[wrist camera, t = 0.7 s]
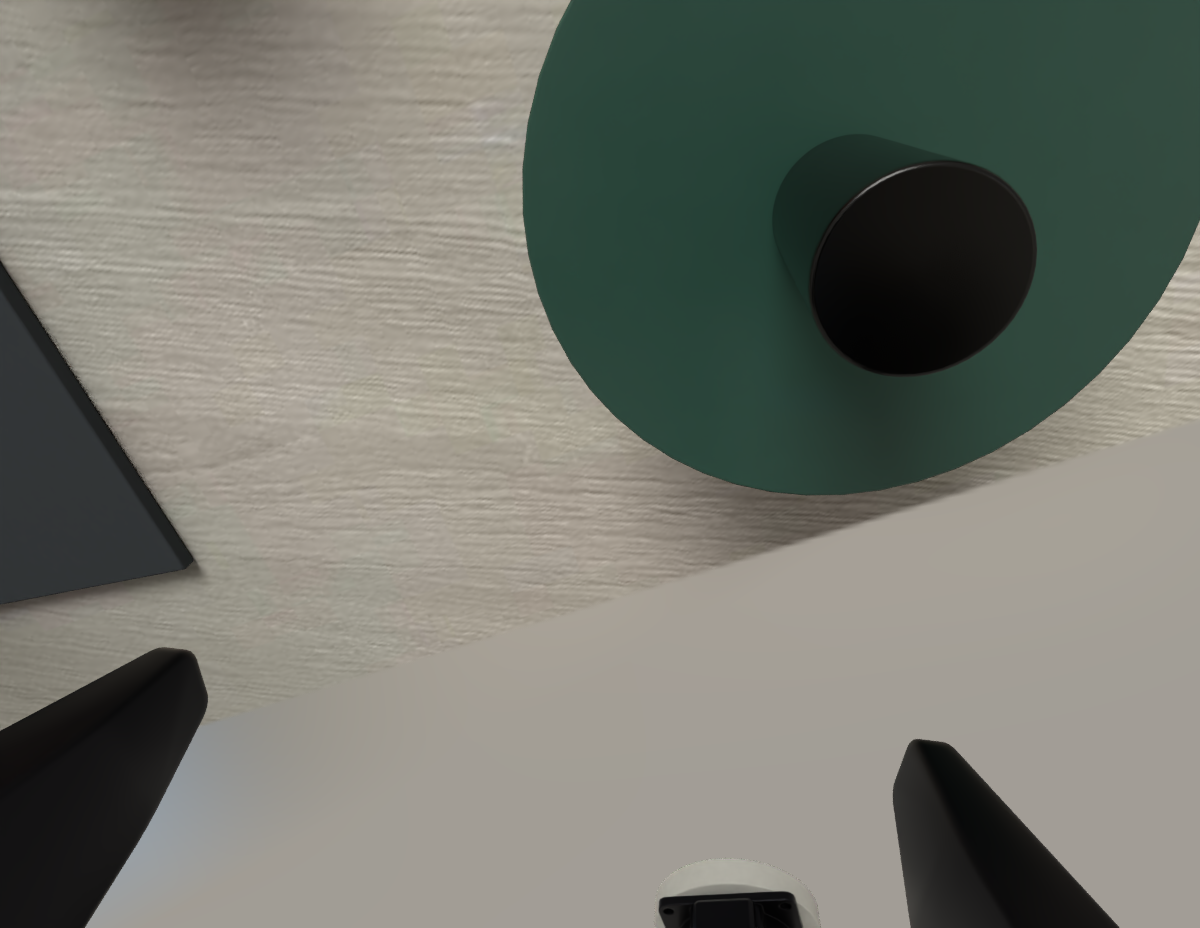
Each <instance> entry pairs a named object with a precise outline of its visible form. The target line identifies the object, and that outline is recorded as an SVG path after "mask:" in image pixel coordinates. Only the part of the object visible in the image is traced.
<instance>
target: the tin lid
mask: <svg viewBox="0 0 1200 928" xmlns="http://www.w3.org/2000/svg"><path fill="white" fill-rule="evenodd" d="M523 218H524V226H525V234H526V241H527V249H528V256H529V260H530V264H531V267H532V271H533V275H534V279H535V283H536V287H537V291H538V294H539V297H540V299H541V302H542V304H543V307H544V309H545V312H546V314H547V317H548V320H549V322H550V325H551V327H552V330H553V331H554V333H555V335H556V337H557V339H558V341H559V342H560V344H561V346H562V348H563V350H564V351H565V353H566V355H567V357H568V359H569V361H570V362H571V364H572V365H573V366H574V368H575V369H576V371H577V372H578V373H579V375H580V376H581V377H582V379H583V380H584V382H585V383H586V384H587V386H588V387H589V389H590V390H591V391H592V392H593V393H594V394H595V396H596V397H597V398H598V399H599V400H600V401H601V402H602V403H603V404H604V405H605V406H606V407H607V408H608V409H609V410H610V412H611V413H612V414H613V415H614V416H615V417H616V418H617V419H619V420H620V421H621V422H622V423H623V424H625V425H626V426H627V427H628V428H629V429H631V430H632V431H633V432H634V433H636V434H637V435H638V436H639V437H640V438H642V439H643V440H644V441H646V442H647V443H649V444H651V445H652V446H654V447H655V448H657V449H658V450H660V451H661V452H663V453H665V454H666V455H668V456H669V457H671V458H673V459H675V460H677V461H679V462H681V463H683V464H685V465H687V466H689V467H691V468H693V469H696V470H698V471H700V472H702V473H704V474H707V475H710V476H713V477H716V478H719V479H722V480H725V481H728V482H731V483H734V484H737V485H741V486H746V487H751V488H755V489H760V490H765V491H769V492H778V493H788V494H798V495H846V494H854V493H862V492H871V491H879V490H884V489H888V488H893V487H897V486H901V485H906V484H910V483H915V482H919V481H922V480H924V479H927V478H930V477H933V476H936V475H939V474H942V473H945V472H948V471H951V470H954V469H956V468H959V467H961V466H963V465H965V464H967V463H970V462H972V461H974V460H976V459H978V458H981V457H983V456H985V455H987V454H989V453H992V452H994V451H995V450H997V449H999V448H1000V447H1002V446H1004V445H1005V444H1007V443H1009V442H1011V441H1012V440H1014V439H1016V438H1017V437H1019V436H1021V435H1023V434H1024V433H1026V432H1028V431H1029V430H1031V429H1032V428H1034V427H1035V426H1036V425H1038V424H1039V423H1040V422H1042V421H1043V420H1045V419H1046V418H1047V417H1049V416H1050V415H1051V414H1053V413H1054V412H1056V411H1057V410H1058V409H1060V408H1061V407H1062V406H1064V405H1065V404H1066V403H1067V402H1068V401H1070V400H1071V399H1072V398H1073V397H1074V396H1075V395H1076V394H1077V393H1078V392H1080V391H1081V390H1082V389H1083V388H1084V387H1085V386H1086V385H1087V384H1089V383H1090V382H1091V381H1092V380H1093V379H1094V378H1095V377H1096V376H1097V375H1099V374H1100V372H1101V371H1102V370H1103V369H1104V368H1105V367H1106V366H1107V365H1108V364H1109V363H1110V361H1111V360H1112V359H1113V358H1114V357H1115V356H1116V355H1117V354H1118V353H1119V352H1120V350H1121V349H1122V348H1123V347H1124V346H1125V345H1126V344H1127V343H1128V342H1129V341H1130V339H1131V338H1132V337H1133V335H1134V334H1135V333H1136V331H1137V330H1138V328H1139V327H1140V326H1141V324H1142V323H1143V322H1144V320H1145V319H1146V317H1147V316H1148V315H1149V313H1150V312H1151V311H1152V309H1153V308H1154V307H1155V305H1156V304H1157V302H1158V301H1159V299H1160V298H1161V296H1162V294H1163V293H1164V291H1165V289H1166V287H1167V286H1168V284H1169V282H1170V280H1171V279H1172V277H1173V275H1174V273H1175V272H1176V270H1177V268H1178V267H1179V265H1180V263H1181V261H1182V260H1183V258H1184V255H1185V253H1186V251H1187V249H1188V246H1189V244H1190V242H1191V239H1192V237H1193V235H1194V232H1195V230H1196V228H1197V226H1198V223H1199V221H1200V0H571V1H570V3H569V5H568V7H567V9H566V11H565V13H564V15H563V17H562V19H561V21H560V23H559V25H558V26H557V28H556V31H555V34H554V36H553V39H552V42H551V45H550V47H549V50H548V53H547V56H546V58H545V61H544V64H543V66H542V69H541V72H540V75H539V78H538V82H537V86H536V91H535V95H534V99H533V103H532V107H531V112H530V116H529V120H528V125H527V134H526V143H525V152H524V160H523Z"/></svg>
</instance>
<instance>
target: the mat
mask: <svg viewBox="0 0 1200 928" xmlns="http://www.w3.org/2000/svg"><path fill="white" fill-rule="evenodd" d="M192 562H193V558H192V557H191V555H190V554H189V552H188V551H187V549H186V548H185V546H184V545H183V543H182V542H181V540H180V539H179V537H178V535H177V534H176V532H175V531H174V529H173V528H172V526H171V525H170V523H169V522H168V520H167V519H166V517H165V515H164V514H163V512H162V511H161V509H160V508H159V506H158V505H157V503H156V502H155V500H154V499H153V497H152V495H151V494H150V492H149V491H148V489H147V488H146V486H145V485H144V483H143V482H142V480H141V479H140V477H139V476H138V474H137V472H136V471H135V469H134V468H133V466H132V465H131V463H130V462H129V460H128V459H127V457H126V456H125V454H124V452H123V451H122V449H121V448H120V446H119V445H118V443H117V442H116V440H115V439H114V437H113V436H112V434H111V433H110V431H109V429H108V428H107V426H106V425H105V423H104V422H103V420H102V419H101V417H100V416H99V414H98V413H97V411H96V409H95V408H94V406H93V405H92V403H91V402H90V400H89V399H88V397H87V396H86V394H85V393H84V391H83V389H82V388H81V386H80V385H79V383H78V382H77V380H76V379H75V377H74V376H73V374H72V373H71V371H70V370H69V368H68V366H67V365H66V363H65V362H64V360H63V359H62V357H61V356H60V354H59V353H58V351H57V350H56V348H55V346H54V345H53V343H52V342H51V340H50V339H49V337H48V336H47V334H46V333H45V331H44V330H43V328H42V326H41V325H40V323H39V322H38V320H37V319H36V317H35V316H34V314H33V313H32V311H31V310H30V308H29V307H28V305H27V303H26V302H25V300H24V299H23V297H22V296H21V294H20V293H19V291H18V290H17V288H16V287H15V285H14V283H13V282H12V280H11V279H10V277H9V276H8V274H7V273H6V271H5V270H4V268H3V267H2V265H1V263H0V604H5V603H11V602H16V601H21V600H26V599H32V598H37V597H42V596H47V595H53V594H58V593H63V592H68V591H73V590H79V589H84V588H89V587H94V586H100V585H105V584H110V583H115V582H121V581H126V580H131V579H136V578H142V577H147V576H152V575H157V574H163V573H168V572H173V571H178V570H184V569H186V568H187V567H188V566H189V565H190V564H191V563H192Z"/></svg>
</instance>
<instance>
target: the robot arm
mask: <svg viewBox="0 0 1200 928" xmlns="http://www.w3.org/2000/svg"><path fill="white" fill-rule="evenodd" d="M207 703H208V695H207V691H206V687H205V684H204V681H203V678H202V675H201V672H200V668H199V665H198V662H197V659H196V657H195V655H194V654H193V653H192V652H191V651H188V650H183V649H175V648H167V647H162V648H157V649H154V650H152V651H150V652H148V653H146V654H144V655H142V656H140V657H138V658H137V659H135V660H133V661H131V662H129V663H127V664H125V665H123V666H122V667H120V668H118V669H116V670H114V671H112V672H110V673H108V674H106V675H105V676H103V677H101V678H99V679H97V680H95V681H93V682H91V683H90V684H88V685H86V686H84V687H82V688H80V689H78V690H76V691H75V692H73V693H71V694H69V695H67V696H65V697H63V698H61V699H59V700H58V701H56V702H54V703H52V704H50V705H48V706H46V707H44V708H43V709H41V710H39V711H37V712H35V713H33V714H31V715H29V716H28V717H26V718H24V719H22V720H20V721H18V722H16V723H14V724H12V725H11V726H9V727H7V728H5V729H3V730H1V731H0V928H85V926H86V925H87V923H88V921H89V920H90V918H91V917H92V915H93V914H94V912H95V910H96V909H97V907H98V906H99V904H100V903H101V901H102V899H103V898H104V896H105V895H106V893H107V891H108V890H109V888H110V886H111V885H112V883H113V882H114V880H115V878H116V877H117V875H118V874H119V872H120V870H121V869H122V867H123V866H124V864H125V863H126V861H127V859H128V858H129V856H130V855H131V853H132V851H133V850H134V848H135V847H136V845H137V843H138V841H139V840H140V838H141V836H142V834H143V833H144V831H145V830H146V828H147V826H148V824H149V822H150V821H151V819H152V817H153V815H154V813H155V811H156V810H157V808H158V806H159V804H160V802H161V800H162V798H163V796H164V794H165V792H166V789H167V788H168V786H169V784H170V782H171V780H172V778H173V776H174V774H175V772H176V770H177V768H178V766H179V764H180V762H181V760H182V758H183V756H184V754H185V752H186V750H187V748H188V746H189V744H190V742H191V740H192V738H193V736H194V734H195V732H196V730H197V728H198V727H199V725H200V723H201V721H202V719H203V717H204V714H205V712H206V708H207ZM893 805H894V812H895V820H896V827H897V834H898V841H899V848H900V855H901V863H902V870H903V877H904V884H905V890H906V897H907V905H908V912H909V918H910V925H911V928H1119V926H1118V925H1117V924H1116V923H1115V922H1114V921H1113V920H1112V919H1111V918H1110V917H1109V916H1108V915H1107V913H1106V912H1105V911H1104V910H1103V909H1102V908H1101V907H1100V906H1099V905H1098V904H1097V903H1096V902H1095V900H1094V899H1093V898H1092V897H1091V896H1090V895H1089V894H1088V893H1087V892H1086V891H1085V890H1084V889H1083V887H1082V886H1081V885H1080V884H1079V883H1078V882H1077V881H1076V880H1075V879H1074V878H1073V877H1072V876H1071V875H1070V873H1069V872H1068V871H1067V870H1066V869H1065V868H1064V867H1063V866H1062V865H1061V864H1060V862H1058V860H1057V859H1056V858H1055V857H1054V856H1053V855H1052V854H1051V853H1050V852H1049V851H1048V849H1046V847H1045V846H1044V845H1043V844H1042V843H1041V842H1040V841H1039V840H1038V839H1037V838H1036V836H1035V835H1034V834H1033V833H1032V832H1031V831H1030V830H1029V829H1028V828H1027V827H1026V826H1025V825H1024V823H1023V822H1022V821H1021V820H1020V819H1019V818H1018V817H1017V816H1016V815H1015V814H1014V813H1013V812H1012V810H1011V809H1010V808H1009V807H1008V806H1007V805H1006V804H1005V803H1004V802H1003V801H1002V800H1001V799H1000V797H999V796H998V795H996V793H995V792H994V791H993V790H992V789H991V788H990V787H989V785H988V784H987V783H986V782H985V781H984V780H983V779H982V778H981V777H980V776H979V775H978V774H977V772H976V771H975V770H974V769H973V768H972V767H971V766H970V765H969V764H968V763H967V762H966V761H965V759H964V758H963V757H962V756H961V755H960V754H959V753H958V752H957V751H956V750H955V749H954V748H953V747H952V746H950V745H949V744H947V743H944V742H938V741H930V740H922V739H915V740H913V741H911V743H909V745H908V747H907V750H906V752H905V755H904V758H903V761H902V764H901V766H900V769H899V772H898V774H897V777H896V780H895V783H894V787H893ZM658 910H659V914H660V916H661V919H662V921H663V924H664V926H665V928H803V925H802V921H801V917H800V913H799V909H798V906H797V902H796V898H795V896H794V894H792V893H790V892H787V891H775V892H755V893H734V894H714V895H693V896H673V897H663V898H661V899H660V900H659V909H658Z"/></svg>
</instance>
